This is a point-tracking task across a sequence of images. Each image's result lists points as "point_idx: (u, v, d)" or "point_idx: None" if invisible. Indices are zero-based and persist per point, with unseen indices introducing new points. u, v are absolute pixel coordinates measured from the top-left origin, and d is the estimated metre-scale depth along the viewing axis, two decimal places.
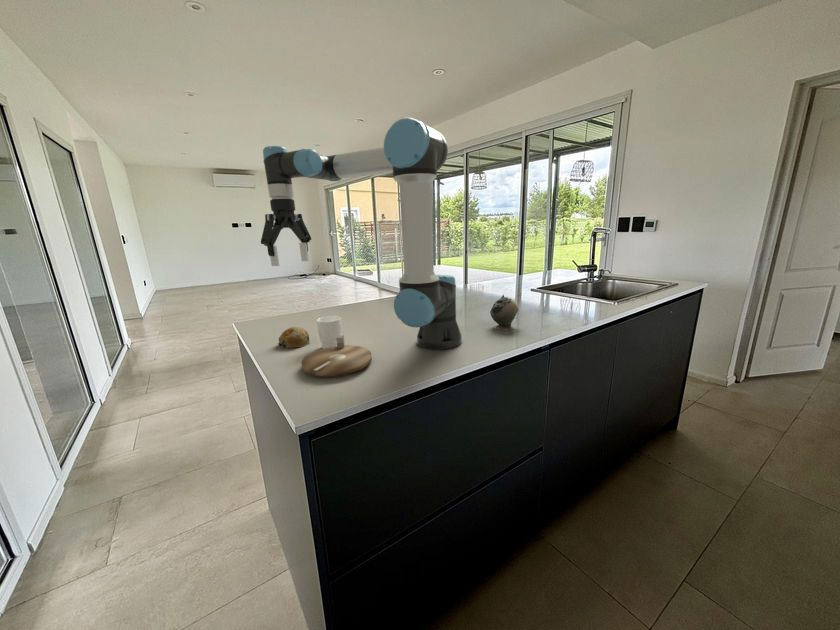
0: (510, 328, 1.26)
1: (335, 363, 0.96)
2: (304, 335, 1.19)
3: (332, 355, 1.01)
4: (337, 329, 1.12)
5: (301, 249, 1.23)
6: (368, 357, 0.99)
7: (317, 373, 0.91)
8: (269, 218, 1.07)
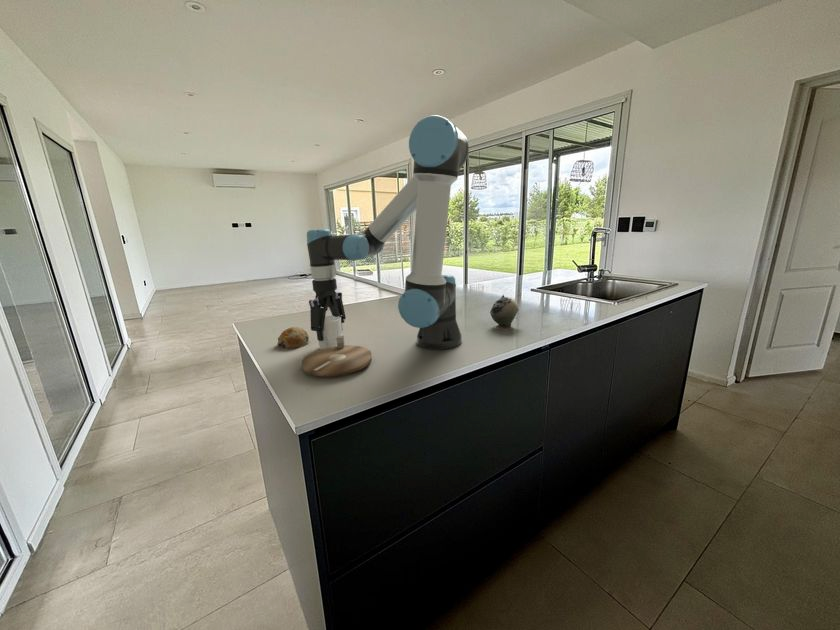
0: (510, 328, 1.26)
1: (335, 363, 0.96)
2: (303, 335, 1.18)
3: (332, 355, 1.01)
4: (337, 329, 1.12)
5: None
6: (368, 357, 0.99)
7: (317, 373, 0.91)
8: (314, 305, 1.06)
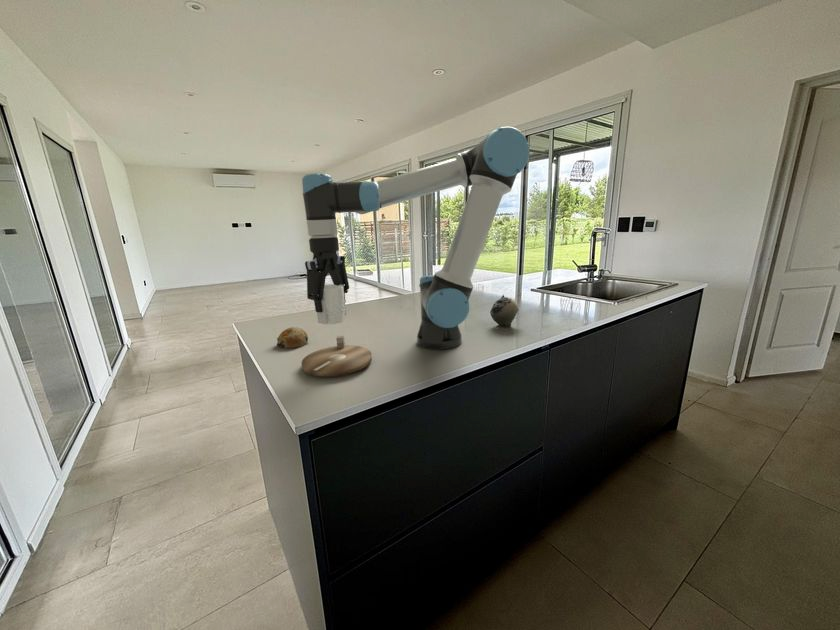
0: (510, 328, 1.26)
1: (335, 363, 0.96)
2: (303, 335, 1.18)
3: (332, 355, 1.01)
4: (339, 298, 0.93)
5: None
6: (368, 357, 0.99)
7: (317, 373, 0.91)
8: (311, 267, 0.87)
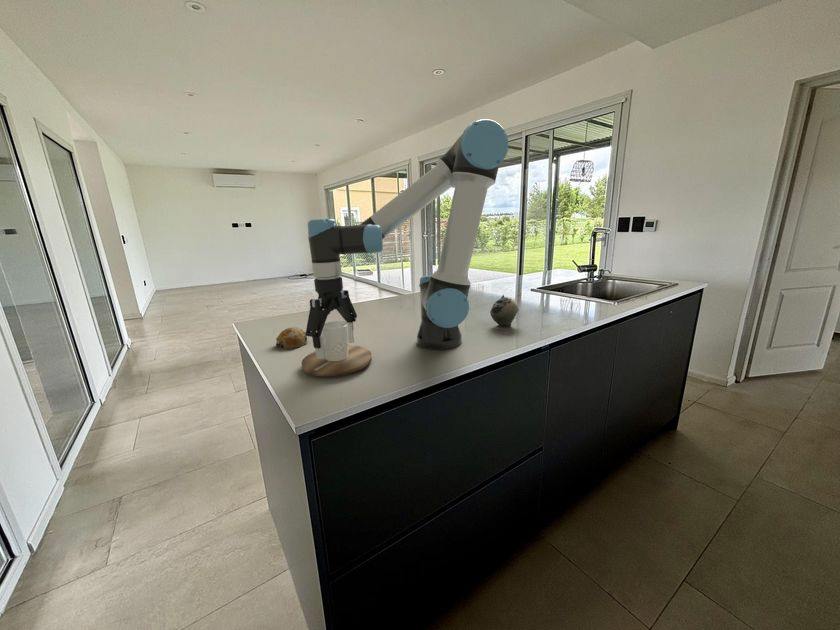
0: (510, 328, 1.26)
1: (335, 363, 0.96)
2: (302, 335, 1.18)
3: None
4: (343, 336, 0.96)
5: None
6: (368, 357, 0.99)
7: (317, 373, 0.91)
8: (315, 305, 0.89)
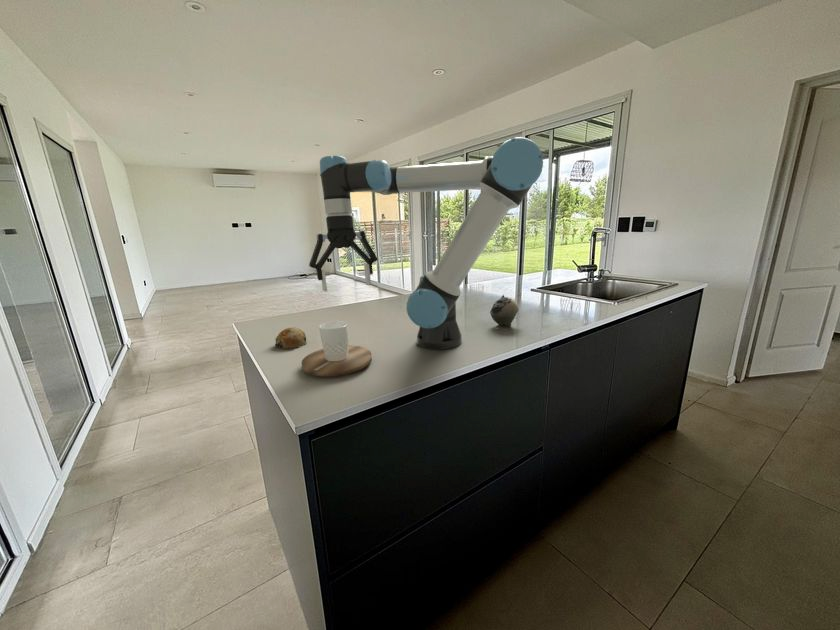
0: (510, 328, 1.26)
1: (335, 363, 0.96)
2: (301, 335, 1.18)
3: None
4: (343, 336, 0.96)
5: (365, 271, 1.06)
6: (368, 357, 0.99)
7: (317, 373, 0.91)
8: (318, 239, 0.96)
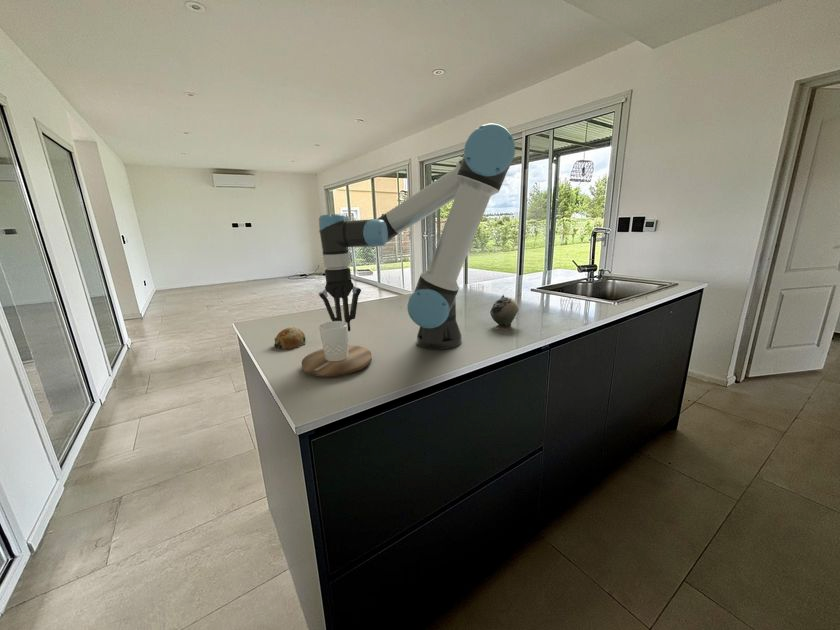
0: (510, 328, 1.26)
1: (335, 363, 0.96)
2: (300, 336, 1.18)
3: None
4: (344, 336, 0.96)
5: None
6: (368, 357, 0.99)
7: (318, 373, 0.91)
8: (322, 298, 1.02)
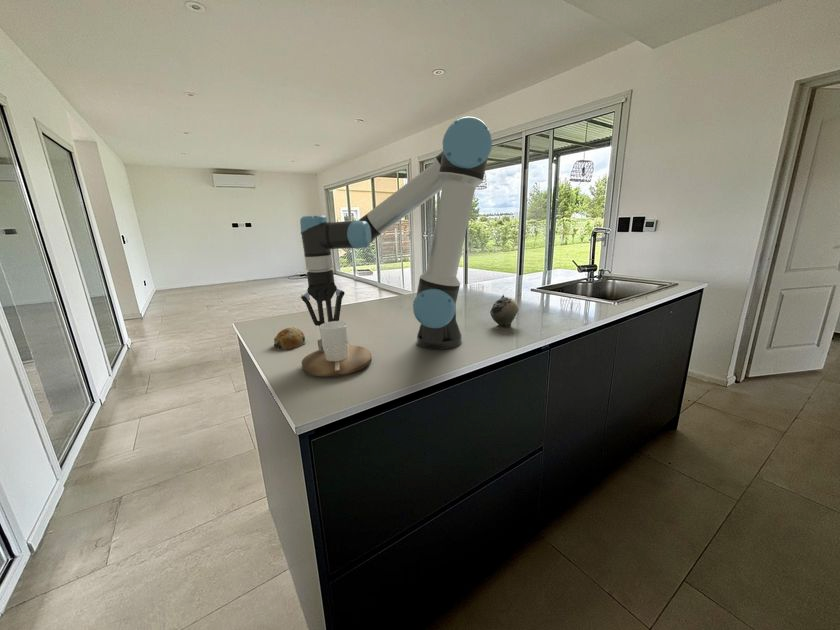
0: (510, 328, 1.26)
1: (345, 361, 0.97)
2: (300, 336, 1.18)
3: None
4: (347, 334, 0.98)
5: None
6: (366, 350, 1.05)
7: (341, 372, 0.91)
8: None
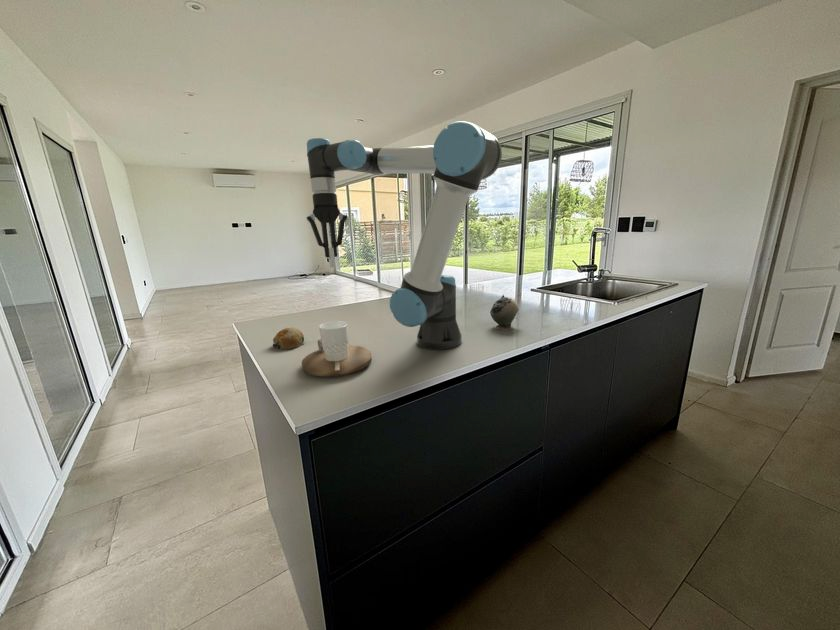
0: (510, 328, 1.26)
1: (346, 361, 0.97)
2: (299, 336, 1.18)
3: None
4: (347, 334, 0.98)
5: None
6: (366, 350, 1.05)
7: (341, 372, 0.91)
8: (309, 221, 1.08)
